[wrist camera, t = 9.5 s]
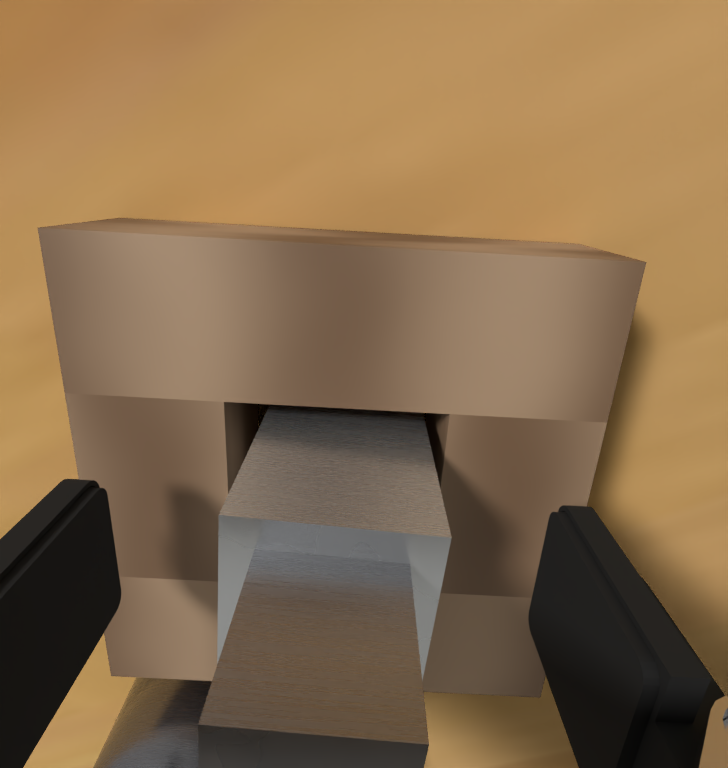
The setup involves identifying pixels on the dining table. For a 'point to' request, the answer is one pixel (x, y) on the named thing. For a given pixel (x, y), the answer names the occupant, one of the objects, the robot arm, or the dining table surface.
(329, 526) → the square bit
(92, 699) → the dining table surface
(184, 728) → the grey shiny rounded body
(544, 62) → the dining table surface
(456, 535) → the socket block
